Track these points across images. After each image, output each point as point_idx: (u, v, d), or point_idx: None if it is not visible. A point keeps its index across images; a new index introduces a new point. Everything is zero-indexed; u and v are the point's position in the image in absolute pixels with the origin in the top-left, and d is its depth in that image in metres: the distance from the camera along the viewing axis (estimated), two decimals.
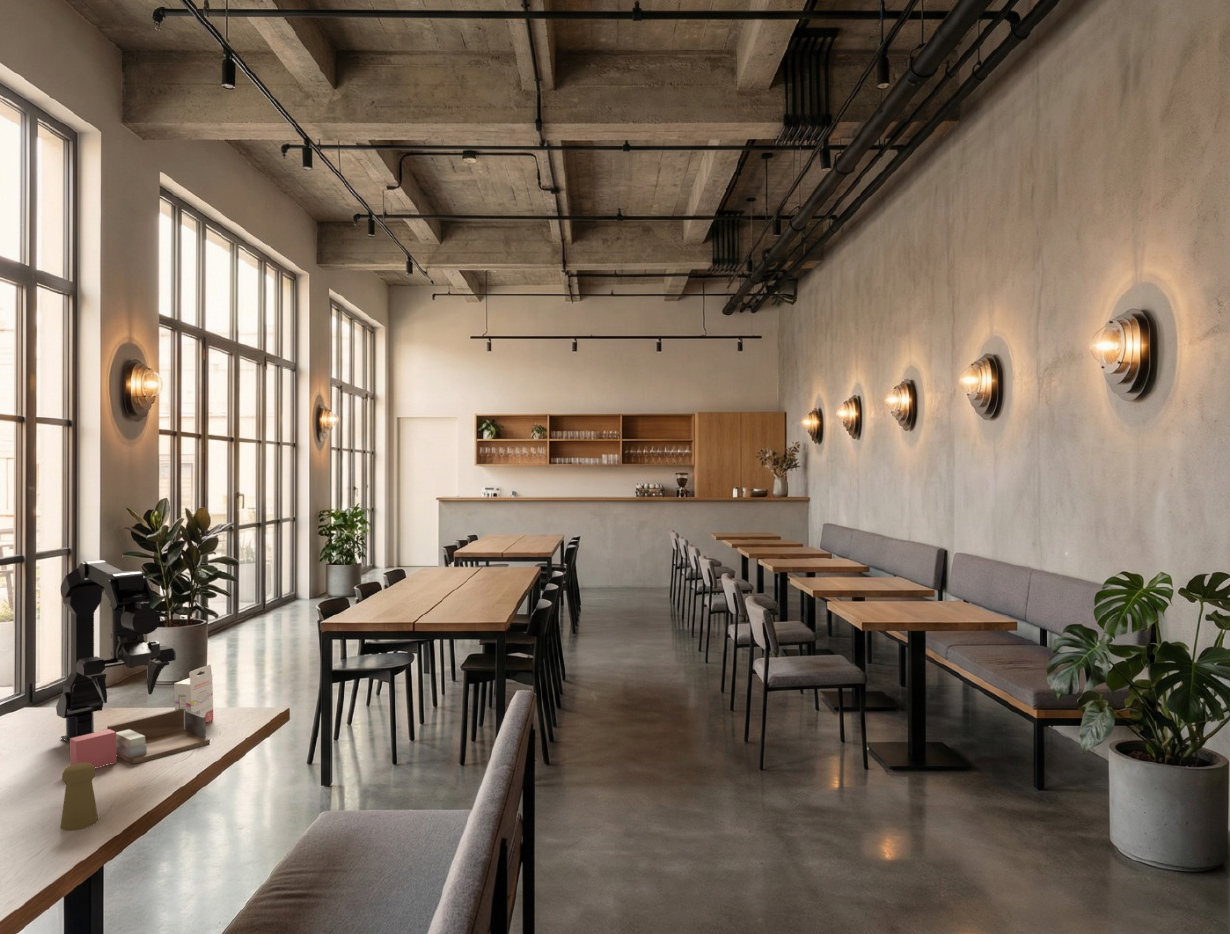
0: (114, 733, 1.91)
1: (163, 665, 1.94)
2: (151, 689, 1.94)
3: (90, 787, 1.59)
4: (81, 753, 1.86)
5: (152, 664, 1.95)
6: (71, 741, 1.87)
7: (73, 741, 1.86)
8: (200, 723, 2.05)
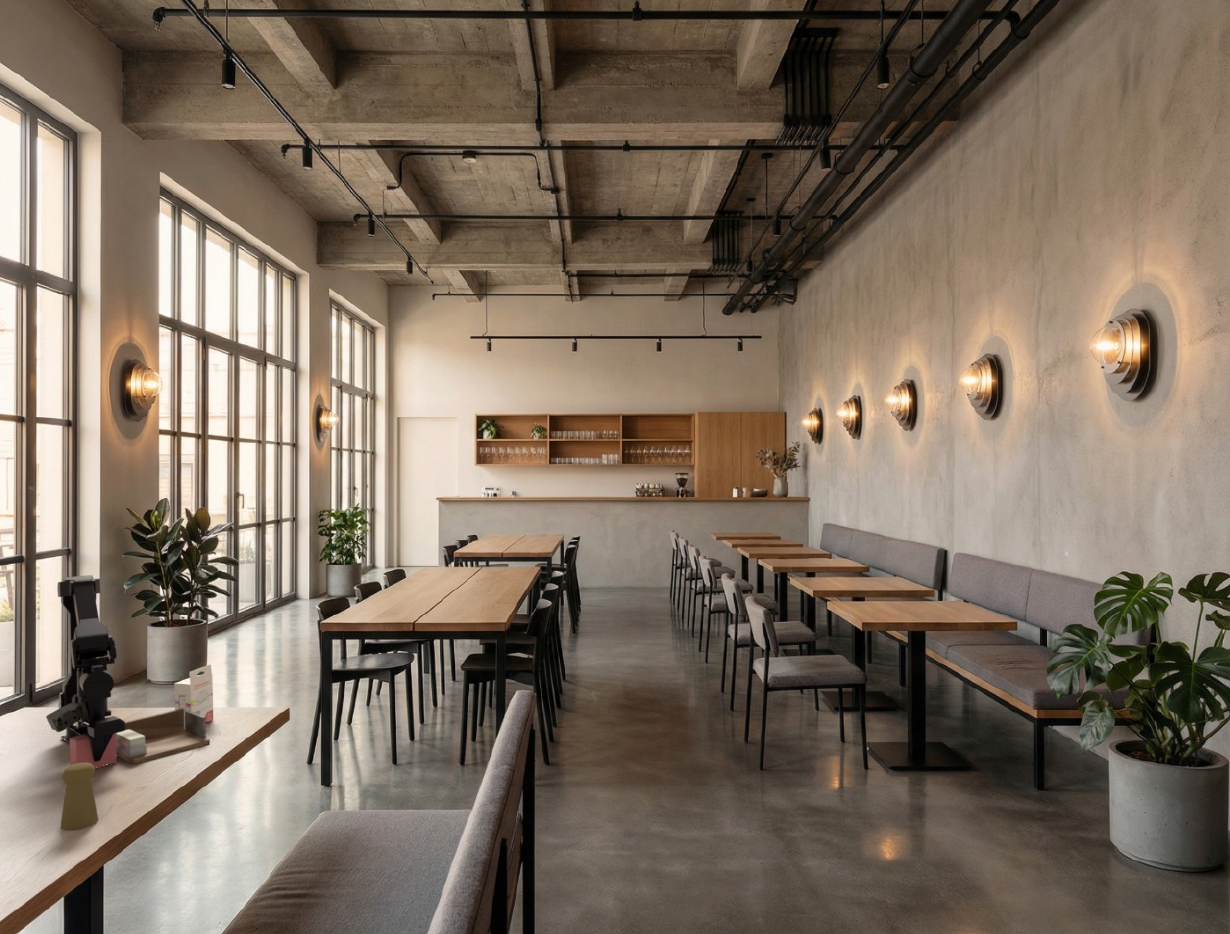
0: (114, 733, 1.91)
1: (86, 736, 1.85)
2: (94, 757, 1.88)
3: (90, 787, 1.59)
4: (81, 752, 1.86)
5: None
6: (71, 741, 1.87)
7: (73, 741, 1.86)
8: (200, 723, 2.05)
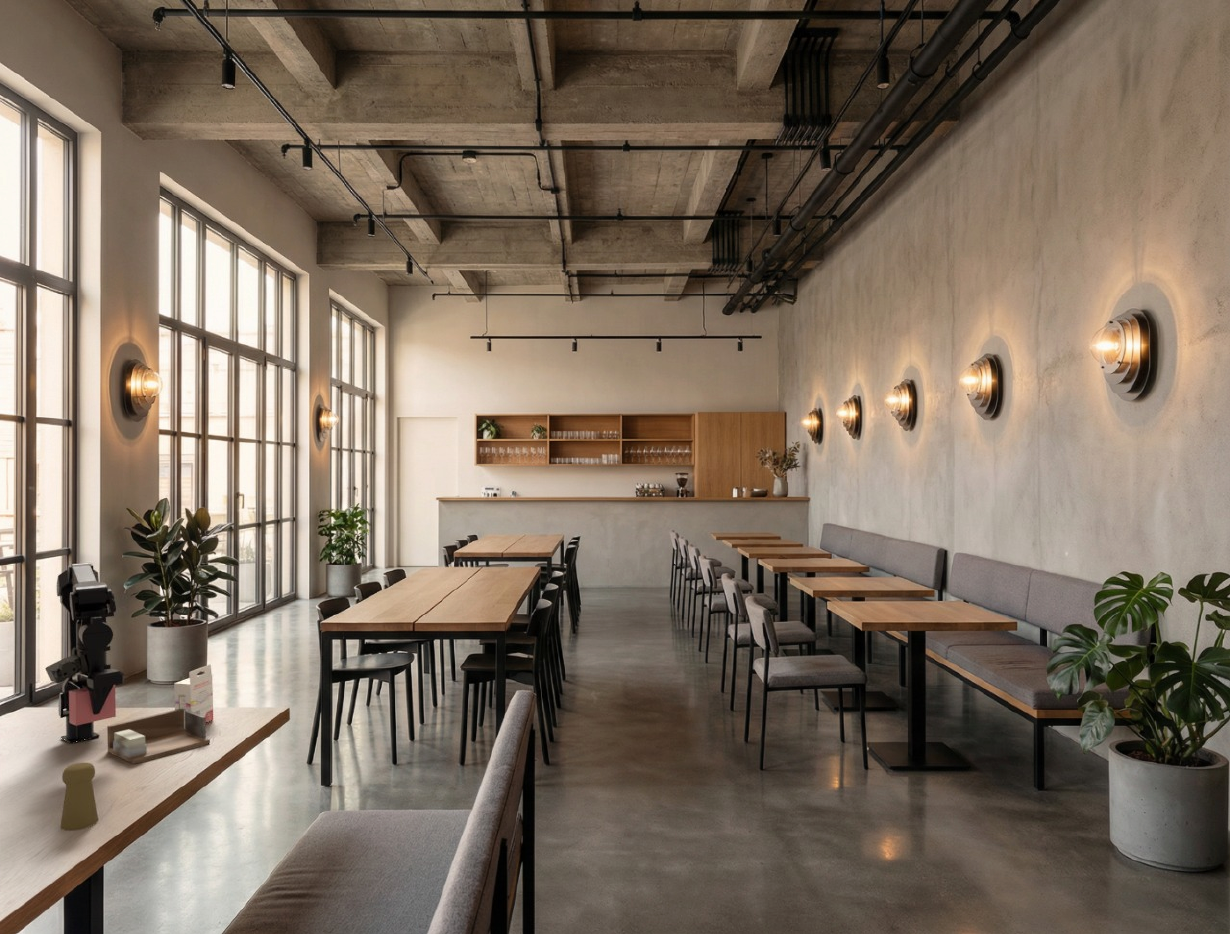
0: (113, 686, 1.91)
1: (85, 688, 1.85)
2: (93, 710, 1.88)
3: (90, 787, 1.59)
4: (80, 705, 1.86)
5: None
6: (70, 693, 1.87)
7: (72, 693, 1.86)
8: (200, 723, 2.05)
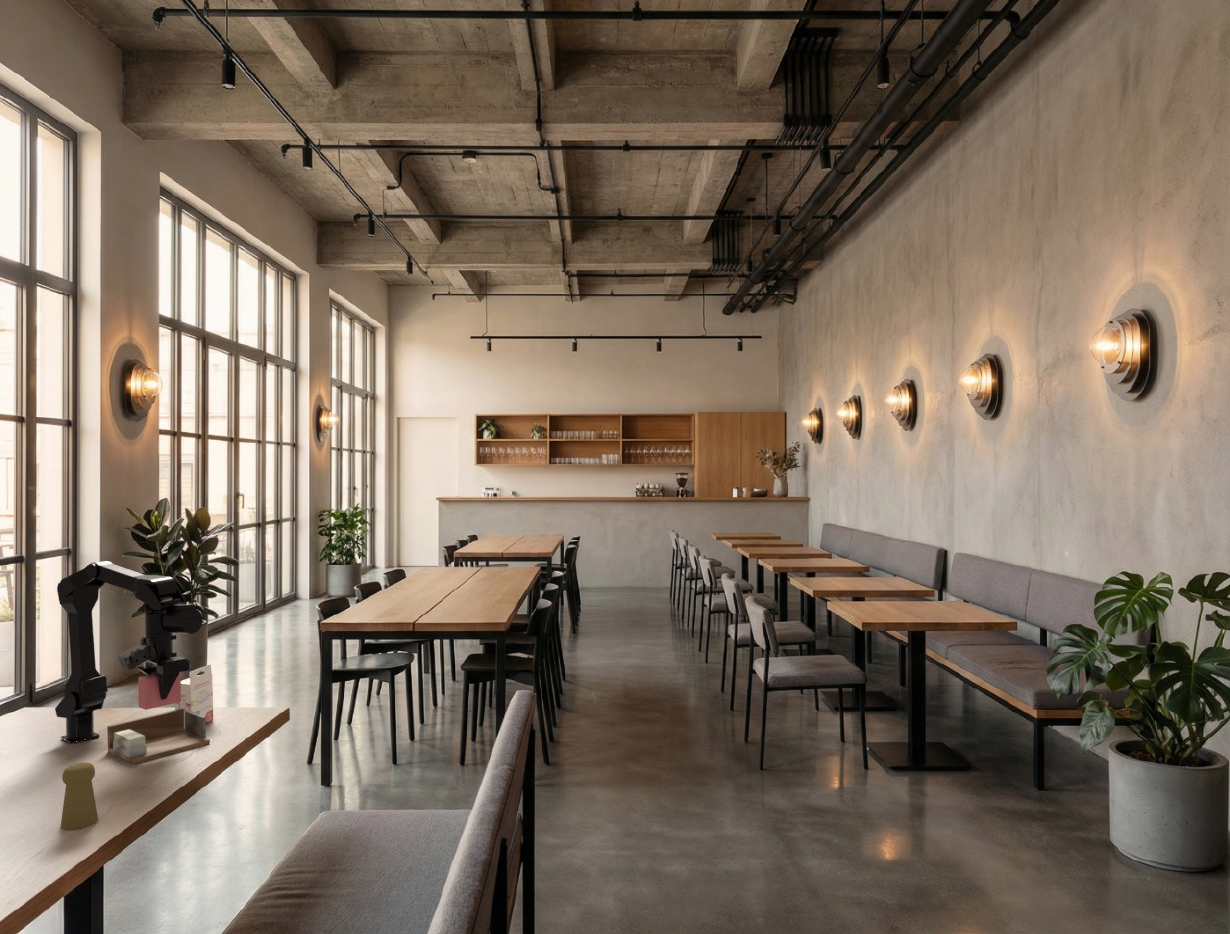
0: (179, 673, 2.02)
1: (154, 674, 1.96)
2: (161, 695, 1.99)
3: (90, 787, 1.59)
4: (149, 690, 1.97)
5: None
6: (140, 679, 1.98)
7: (142, 679, 1.97)
8: (200, 723, 2.05)
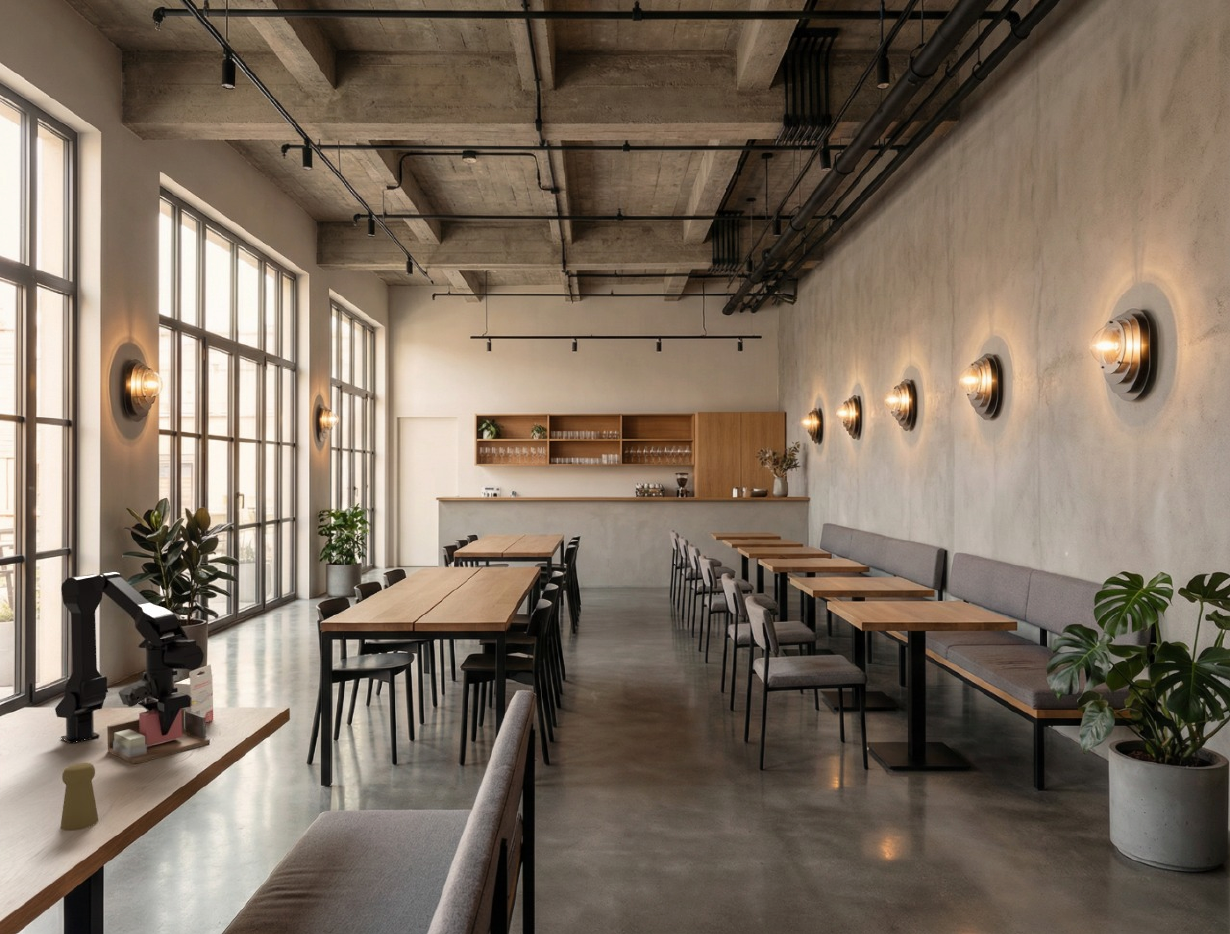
0: None
1: (155, 711, 1.96)
2: (162, 731, 1.99)
3: (90, 787, 1.59)
4: (150, 726, 1.97)
5: None
6: (141, 715, 1.98)
7: (143, 715, 1.97)
8: (200, 723, 2.05)
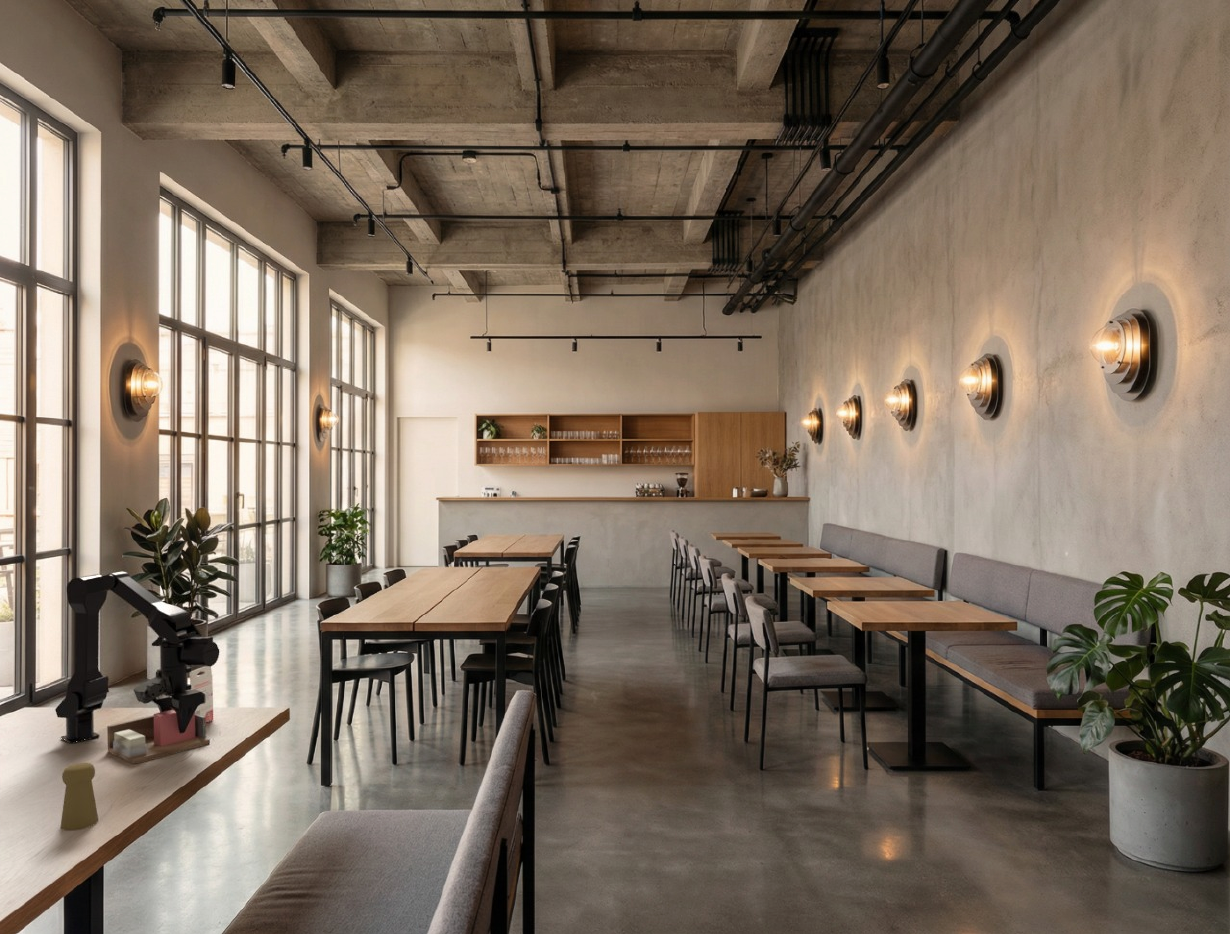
0: None
1: (173, 709, 1.98)
2: (179, 729, 2.01)
3: (90, 787, 1.59)
4: (164, 727, 2.00)
5: None
6: (155, 716, 2.01)
7: (157, 716, 2.00)
8: (200, 723, 2.05)
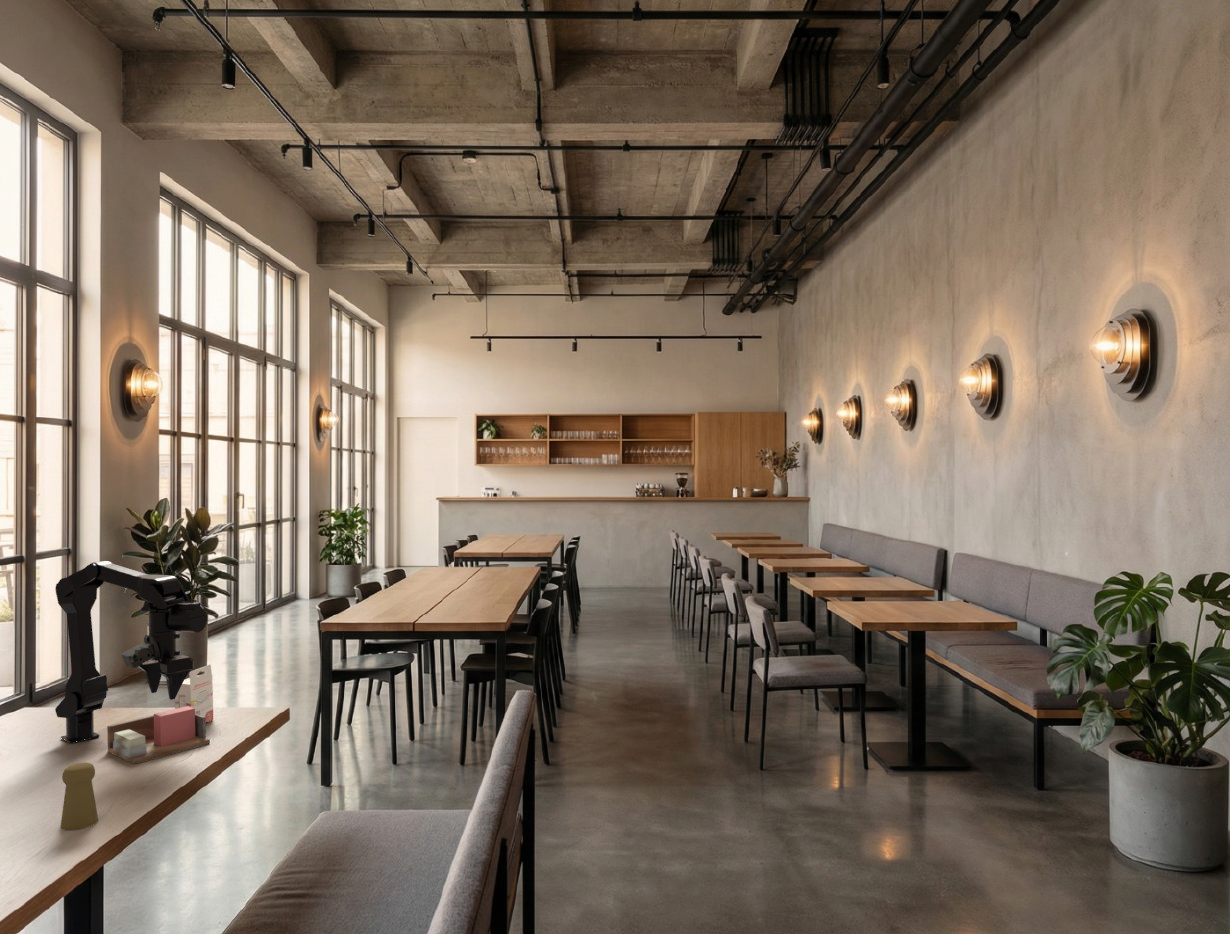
0: (193, 709, 2.05)
1: (163, 674, 1.96)
2: (170, 695, 1.99)
3: (90, 787, 1.59)
4: (164, 727, 2.00)
5: None
6: (155, 716, 2.01)
7: (157, 716, 2.00)
8: (200, 723, 2.05)
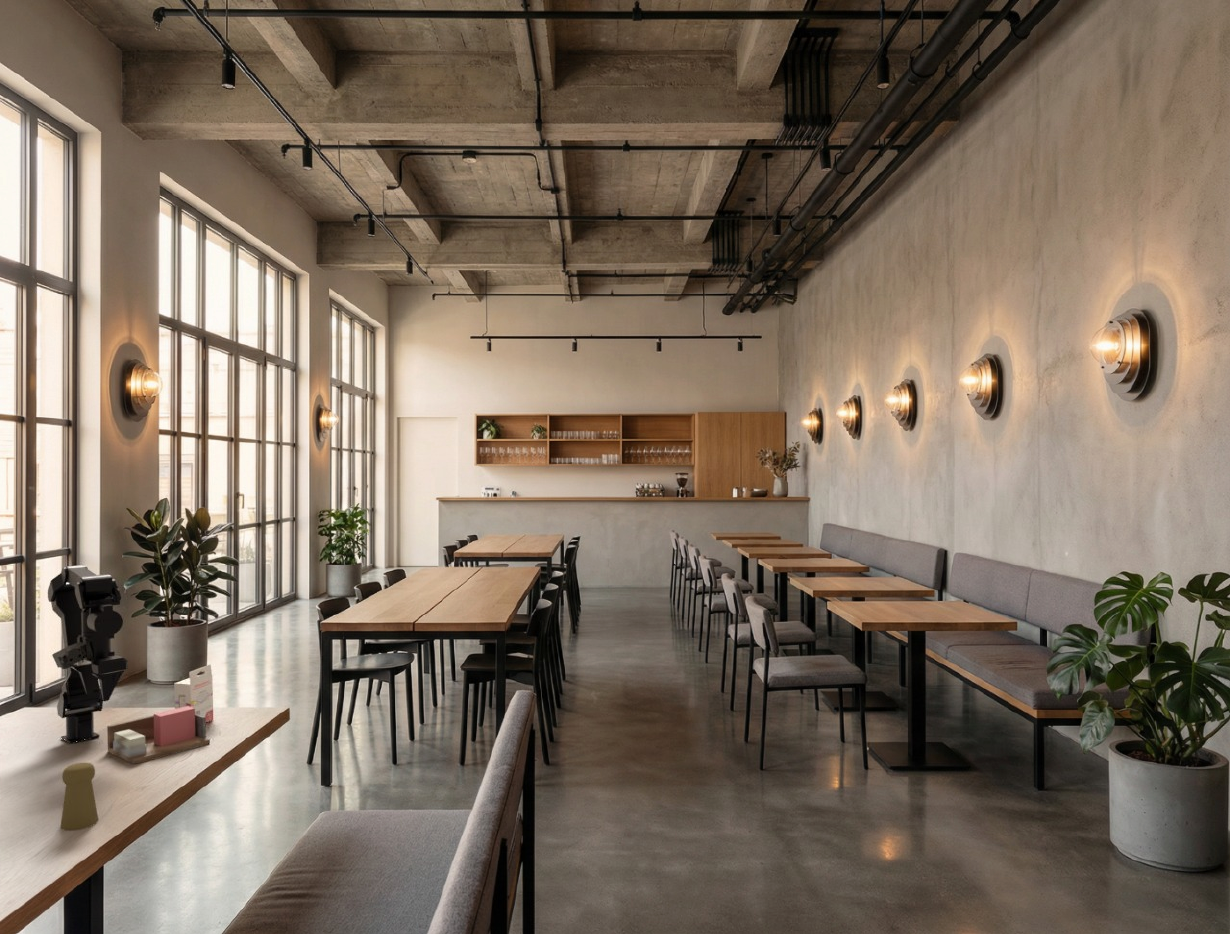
0: (193, 709, 2.05)
1: (95, 675, 1.91)
2: (103, 697, 1.94)
3: (90, 787, 1.59)
4: (164, 727, 2.00)
5: None
6: (155, 716, 2.01)
7: (157, 716, 2.00)
8: (200, 723, 2.05)
